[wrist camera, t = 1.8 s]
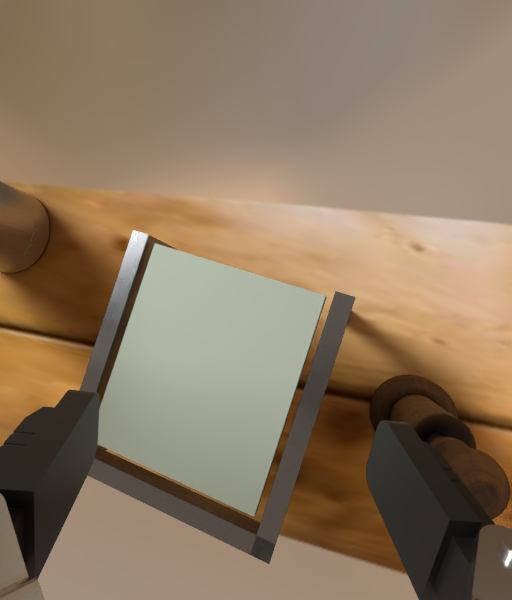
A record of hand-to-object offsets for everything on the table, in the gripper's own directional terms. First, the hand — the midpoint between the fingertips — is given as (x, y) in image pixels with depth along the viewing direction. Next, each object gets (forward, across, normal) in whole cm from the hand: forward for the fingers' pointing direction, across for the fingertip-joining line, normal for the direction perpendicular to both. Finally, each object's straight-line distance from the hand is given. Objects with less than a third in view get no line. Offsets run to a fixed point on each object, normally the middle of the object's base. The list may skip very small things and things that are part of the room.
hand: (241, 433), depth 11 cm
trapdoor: (+14, -1, -5) cm, 15 cm away
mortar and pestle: (+19, +17, -10) cm, 27 cm away
